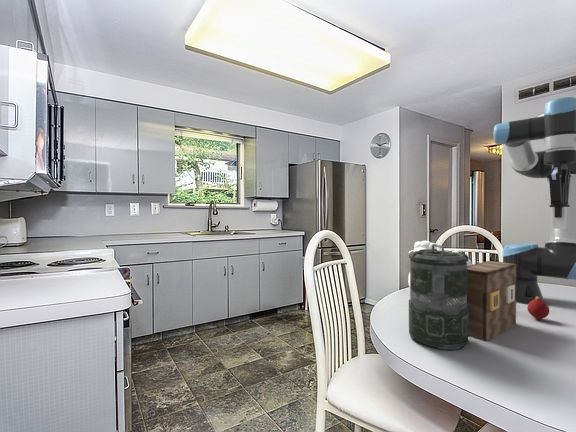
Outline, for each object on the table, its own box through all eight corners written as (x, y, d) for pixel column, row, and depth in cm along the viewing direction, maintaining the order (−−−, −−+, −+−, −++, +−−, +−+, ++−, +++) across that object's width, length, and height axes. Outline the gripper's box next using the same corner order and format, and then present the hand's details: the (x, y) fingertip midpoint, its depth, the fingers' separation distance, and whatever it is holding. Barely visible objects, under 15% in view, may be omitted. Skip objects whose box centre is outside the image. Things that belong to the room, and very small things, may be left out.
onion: (544, 317, 106) (544, 295, 106) (552, 323, 101) (552, 299, 101) (524, 316, 108) (524, 293, 108) (531, 321, 103) (531, 298, 103)
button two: (481, 303, 96) (481, 287, 96) (500, 307, 92) (500, 290, 92) (473, 306, 93) (473, 289, 93) (492, 311, 89) (492, 293, 89)
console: (489, 317, 108) (489, 260, 107) (515, 324, 101) (516, 263, 101) (458, 332, 95) (458, 268, 94) (486, 341, 88) (486, 272, 88)
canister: (401, 328, 98) (401, 242, 98) (451, 328, 98) (451, 241, 97) (421, 351, 83) (421, 248, 82) (480, 351, 82) (481, 248, 81)
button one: (497, 296, 103) (497, 281, 103) (515, 300, 99) (515, 284, 99) (490, 299, 100) (490, 284, 100) (509, 303, 96) (509, 287, 96)
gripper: (570, 146, 86) (569, 230, 87) (582, 150, 93) (581, 227, 94) (537, 150, 92) (536, 228, 93) (550, 154, 100) (550, 226, 100)
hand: (559, 228), depth 93 cm, fingers closed
